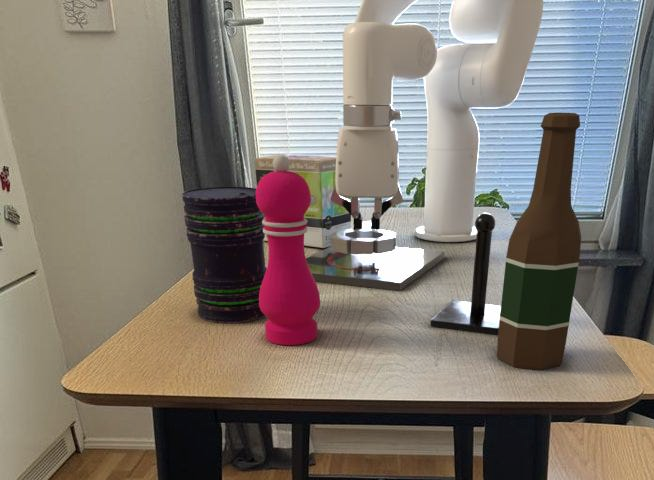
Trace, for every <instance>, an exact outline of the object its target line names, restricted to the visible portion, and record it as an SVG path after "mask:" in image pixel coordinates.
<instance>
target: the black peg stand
mask: <svg viewBox="0 0 654 480" xmlns="http://www.w3.org/2000/svg"><path fill="white" fill-rule="evenodd" d="M495 226H496V219H495V218H494V215H492V214H490V213H489V212H483V213H481V214H479V215H478V216H477V217H476V219H475V221H474V227H475V228H476V230H477V236H476V239H475V247H474V248H475V249H474V261H473V262H474V263H473V272H472V273H473V274H472V285H471V286H472V287H471V289H472V290H471V300H470V301H464V300H463V301H462V300H454V299H452V300H451V301H450V302H449V303H448V304H446V306H445V307H443V308H442V309H440V311H439V312H438V313H437V314H436V315H435V316H434V317H432V318H431V319H430V325H429V326H430V327H434V328H442V329H448V330H449V329H450V330H458V331H465V332H473V333H482V334H489V335H490V334H491V335H497V336H498V331H499V322H500V312H501V305H500V304H499V305H498V304H490V303H489V304H488V303H486V301H487V292H488V291H487V288H488V281H489V280H488V279H489V270H490V269H489V268H490V257H491V247H492V237H493V231H494V229H495Z"/></svg>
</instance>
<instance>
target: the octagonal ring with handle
mask: <svg viewBox="0 0 654 480" xmlns="http://www.w3.org/2000/svg"><path fill="white" fill-rule="evenodd" d="M330 247H331V249H333V251H337V252H341V253H345V254H349V253H351V254H355V255H373V253H374V254H382V253H387V252H393V250H395V249H396V247H397V233H396V232H394V231H391V230H387V229H386V230H385V229H381V228H380V229H379V230H376V229H371V220H367V221H366V220H363V224H362V227H361V229H355V230H354V228H351V229H347V230H341V231H336V232H333V234H332V236H331V246H330Z"/></svg>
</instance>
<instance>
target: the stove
mask: <svg viewBox="0 0 654 480" xmlns="http://www.w3.org/2000/svg"><path fill="white" fill-rule="evenodd" d="M445 254H446V252H445V251H443V250H433V249H422V248H409V247H398V246H396V249H395V250H393V252H387V253H382V254H374V253H373V255H355V254H351V253H349V254H345V253H341V252H337V251H333V249H331V246H330V247H326V248H323V250H320V251H318V252H316V253H314V254H312V255H310V256H307V257H306V261H307V264H308V266H309V269H310V271H311V273H312V276H313V278H314V280H315V282H316V283H326V284H335V285H343V286H351V287H361V288H370V289H371V288H372V289H380V290H381V289H382V290H389V291H390V290H391V291H397V292H400V291H402V290H403V289H404V288H406V287H407V286H408V285H410V284H411V283H412V282H414V281H415V280H417V279H418V278H420V277H421V276H422V275H424V274H425V273H426V272H428V271H429V270H430V269H432V268H434V266H436V265H437V264H439V263H440V262H441V261H443V260H445V256H446V255H445Z"/></svg>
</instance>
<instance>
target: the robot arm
mask: <svg viewBox="0 0 654 480" xmlns="http://www.w3.org/2000/svg"><path fill="white" fill-rule="evenodd" d="M418 1H419V0H362V1H361V2H360V5H359V8H358V11H357V14H356V17H355V19H354V22H351V23H349V24H347V25H346V26H345V27H344V29H343V33H342V96H343V98H342V102H343V104H342V111H343V112H342V113H343V115H342V117H343V118H342V119H343V121H342V122H343V127H341V128H339V129H338V133H337V134H338V135H337V141H336V142H337V143H336V155H335V156H336V175H335V183H336V184H335V187H334V190H333V193H332V196H331V202H333V203H335V204H337V205H340V206H343V207H344V208H345V209H346V210H347V211H348V212H349V213H350V214H351V218H353V229H354V230H355V229H361V227H362V224H363V221H364V217H363V215H362V212H361V203H360V201H361V200H360V199H374V203H373V204H374V206H373V207H374V208H373V212H372V214H371V215H372V216H371V218H370V221H371V229H376V230H379V229H381V218H382V216H383V215H384V214H385V213H386V212H387V211H388V210H389V209H391V208H392V207H395V206H398V205H401V204H403V202H404V196H403V193H402V190H401V187H400V183H399V181H400V172H399V171H400V161H399V160H400V158H399V157H400V156H399V155H400V153H399V139H398V138H399V137H398V132H397V128H393V127H392V123H394V122H397V121H401V120H402V110H397V109H396V108H393V106H392V105H393V85H394V82H416V81H419V80H421V79H423V87H424V94H425V102H426V112H427V135H426V136H427V138H426V139H427V140H426V160H425V161H426V162H425V185H424V210H423V212H424V213H423V225H421V226H419V227H417V228H416V229H415V237H416V238H418V239H421V240H424V241H428V242H439V243H461V242H469V241H475V240H476V236H477V230H476V228H475V226H474V214H475V202H476V189H477V178H478V177H477V176H478V175H477V174H478V162H479V150H480V131H479V127H478V123H477V121H476V118H475V116H474V114H473V111H472V109H502V108H507V107H509V106H511V105H512V104H513V103H514V102H515V101H516V100H517V98H518V96H519V94H520V92H521V89H522V86H523V84H524V81H525V78H526V74H527V71H528V67H529V64H530V61H531V57H532V54H533V51H534V47H535V45H536V40H537V37H538V34H539V30H540V26H541V23H542V18H543V13H544V12H543V11H544V0H452V1H451V6H450V10H449V16H448V17H449V18H448V24H449V30H450V32H451V35H452V36H453V37H454V38H456V39H457V40H458V41H461V42H464V43H454V44H447V45H444V46H441V47H439V48H438V45H437V42H436V39H435V36H434V35H433V33H432V32H431V31H430V29H428V28H427V27H426V26H424V25H421V24H419V23H395V22H396V21H397V19H398V18H399V17H400V16H401V15H402V14H403V13H404V12H405V11H406V10H407V9H408V8H409V7H411V6H412V5H413V4H415V3H416V2H418ZM344 197H347V198H351V201H350V200H349V199H346V198H344Z"/></svg>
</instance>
